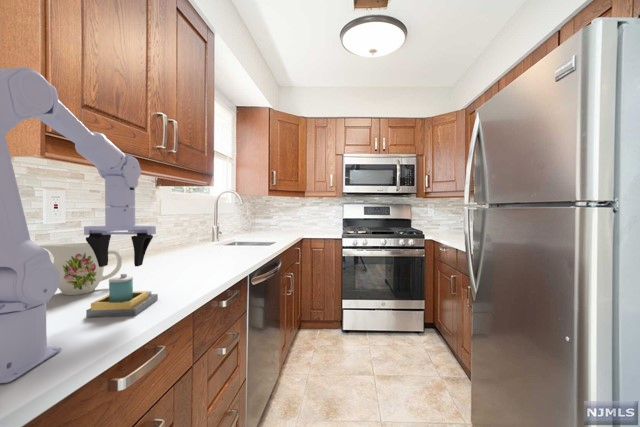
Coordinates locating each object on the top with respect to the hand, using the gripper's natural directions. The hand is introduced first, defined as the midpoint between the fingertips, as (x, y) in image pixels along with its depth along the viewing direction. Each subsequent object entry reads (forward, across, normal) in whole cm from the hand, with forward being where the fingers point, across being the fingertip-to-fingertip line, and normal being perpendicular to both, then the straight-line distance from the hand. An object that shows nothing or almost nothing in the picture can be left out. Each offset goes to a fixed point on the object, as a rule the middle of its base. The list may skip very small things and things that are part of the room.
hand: (121, 265), depth 67 cm
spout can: (+9, 0, 0) cm, 9 cm away
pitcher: (+10, +19, -17) cm, 28 cm away
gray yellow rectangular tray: (+10, 0, -2) cm, 10 cm away
